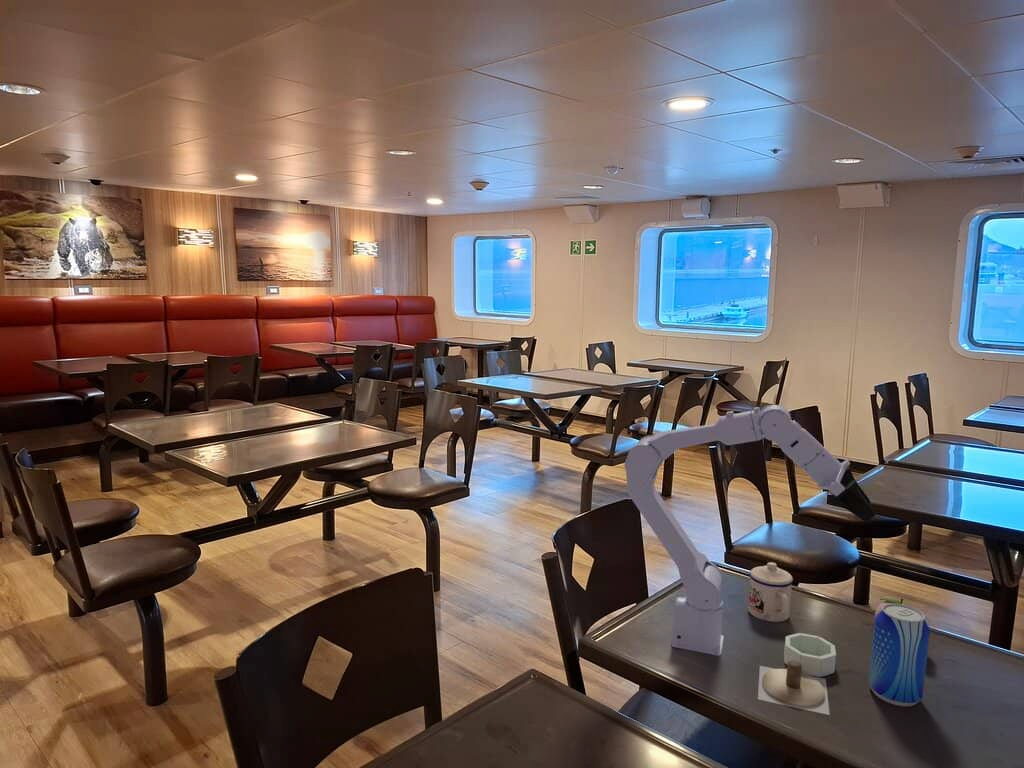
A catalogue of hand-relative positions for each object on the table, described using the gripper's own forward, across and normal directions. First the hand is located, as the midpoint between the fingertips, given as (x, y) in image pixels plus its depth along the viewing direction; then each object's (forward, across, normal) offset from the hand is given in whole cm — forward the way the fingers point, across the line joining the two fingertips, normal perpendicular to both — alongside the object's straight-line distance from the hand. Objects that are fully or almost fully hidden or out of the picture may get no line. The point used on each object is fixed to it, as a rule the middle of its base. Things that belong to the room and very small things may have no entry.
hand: (868, 511), depth 125 cm
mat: (+13, -10, +31) cm, 35 cm away
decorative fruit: (+28, +15, +18) cm, 37 cm away
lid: (+13, -10, +31) cm, 35 cm away
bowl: (+15, 0, +29) cm, 33 cm away
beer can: (+26, -5, +20) cm, 33 cm away
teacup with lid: (+10, +18, +34) cm, 40 cm away
